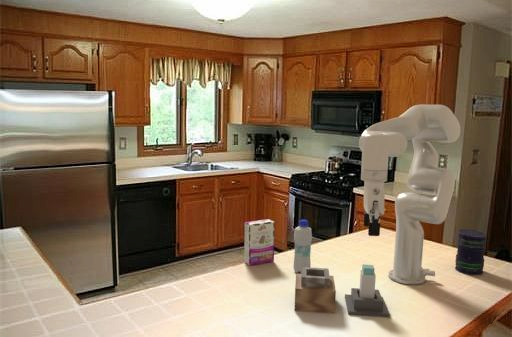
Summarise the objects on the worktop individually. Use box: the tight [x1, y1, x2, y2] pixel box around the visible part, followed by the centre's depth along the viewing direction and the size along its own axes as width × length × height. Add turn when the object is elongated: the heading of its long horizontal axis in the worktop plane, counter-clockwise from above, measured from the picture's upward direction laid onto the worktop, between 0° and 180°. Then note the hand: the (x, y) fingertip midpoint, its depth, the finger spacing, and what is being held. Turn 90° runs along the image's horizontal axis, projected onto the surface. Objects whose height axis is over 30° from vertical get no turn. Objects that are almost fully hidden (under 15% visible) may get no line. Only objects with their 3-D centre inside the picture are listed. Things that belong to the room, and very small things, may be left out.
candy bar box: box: [243, 218, 275, 266], centre depth 170 cm, size 11×5×16 cm, turn 117°
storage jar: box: [454, 229, 487, 276], centre depth 166 cm, size 10×10×15 cm
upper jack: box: [293, 267, 337, 314], centre depth 135 cm, size 12×12×10 cm
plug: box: [359, 263, 377, 299], centre depth 133 cm, size 4×4×12 cm
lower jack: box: [344, 287, 391, 318], centre depth 134 cm, size 12×12×4 cm
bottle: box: [293, 219, 313, 274], centre depth 161 cm, size 7×7×20 cm
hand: (371, 230), depth 131 cm, fingers open, 9 cm apart
